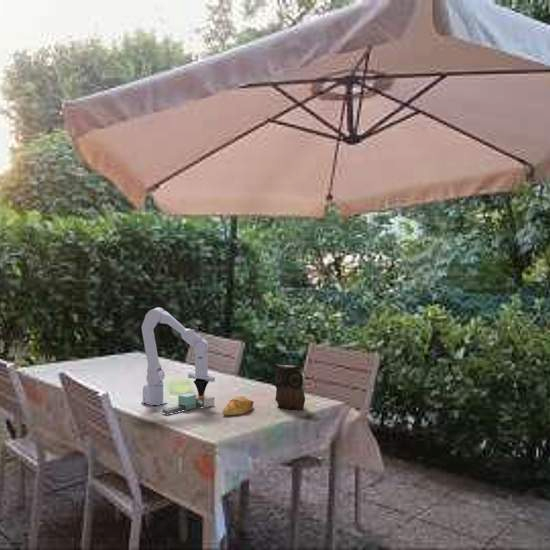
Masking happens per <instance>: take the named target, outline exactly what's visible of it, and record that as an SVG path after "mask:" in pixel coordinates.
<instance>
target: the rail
mask: <svg viewBox="0 0 550 550" xmlns="http://www.w3.org/2000/svg"><path fill="white" fill-rule="evenodd" d="M196 407H197V408H199V407H198V403H196ZM182 410H185V406H184V405H179V406H178V405H176V406H172V407H167V408H163V409H162V413H165V414H170V413H174V414H176V413H175V412H178V411H182ZM182 412H183V411H182ZM178 413H179V412H178ZM170 415H171V414H170Z"/></svg>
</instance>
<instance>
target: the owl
mask: <svg viewBox="0 0 550 550" xmlns="http://www.w3.org/2000/svg"><path fill="white" fill-rule="evenodd" d="M275 368H276V369H275V375H274V376H275V379H274V385H275V388H276V391H275V399H274V400H275V402H276V403H277V407H278V408H277V409H279V408H280V409H279V410H285V409H289V410H288V411H291V410H297V411H304V406H305V403H306V396H305V391H304V388H303V386H304V377H303V374H302V367H301V366H300V365H290V364H284V365H282V364H278V363H275Z"/></svg>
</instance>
